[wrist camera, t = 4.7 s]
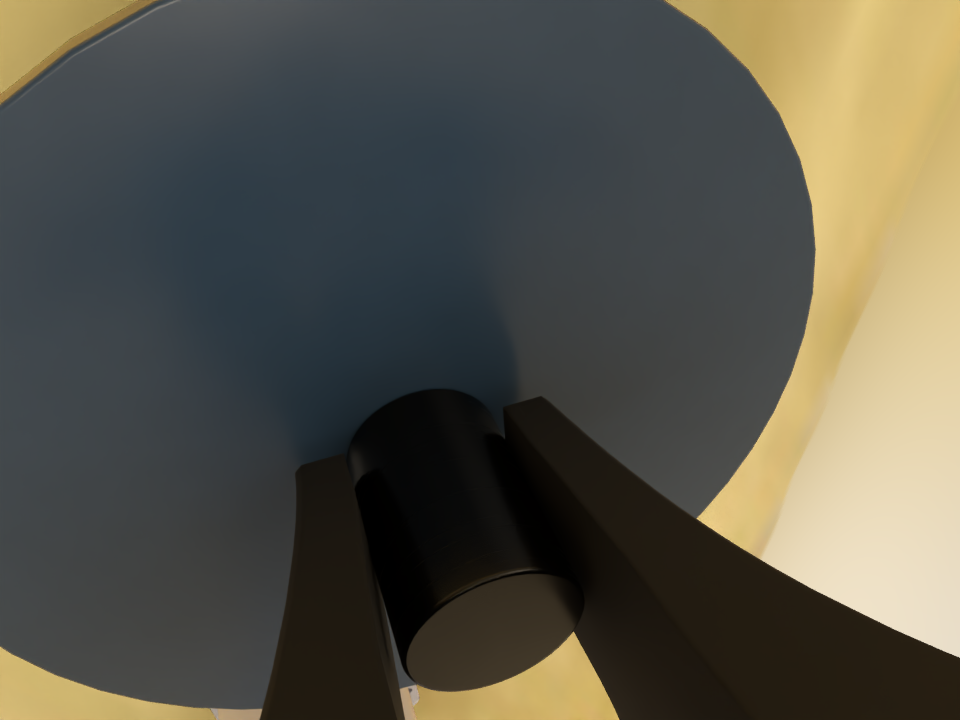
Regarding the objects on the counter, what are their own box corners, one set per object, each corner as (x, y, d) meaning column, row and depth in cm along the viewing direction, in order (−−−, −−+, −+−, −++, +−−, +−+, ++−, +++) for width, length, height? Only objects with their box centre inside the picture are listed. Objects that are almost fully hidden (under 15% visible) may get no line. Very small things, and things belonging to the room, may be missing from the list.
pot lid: (716, 533, 19) (841, 703, 15) (120, 741, 16) (114, 1008, 12) (867, -150, 10) (1248, -96, 6) (-469, 36, 7) (-1075, 323, 3)
